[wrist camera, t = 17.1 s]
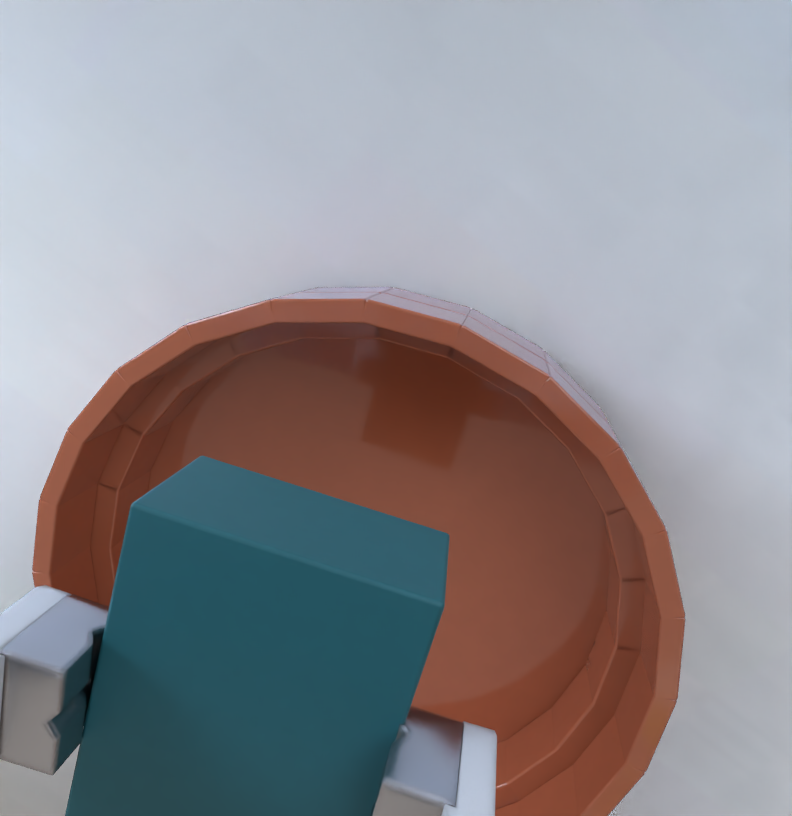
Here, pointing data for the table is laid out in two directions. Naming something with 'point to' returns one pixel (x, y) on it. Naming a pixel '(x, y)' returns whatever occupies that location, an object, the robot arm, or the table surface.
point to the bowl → (419, 510)
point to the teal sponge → (255, 651)
